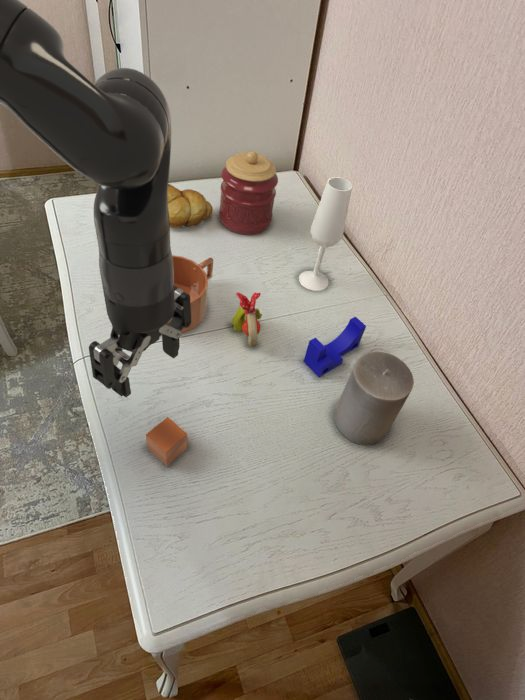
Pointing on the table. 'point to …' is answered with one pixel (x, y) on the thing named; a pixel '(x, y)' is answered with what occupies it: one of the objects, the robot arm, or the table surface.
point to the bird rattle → (248, 318)
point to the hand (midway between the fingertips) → (147, 372)
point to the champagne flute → (328, 227)
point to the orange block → (166, 441)
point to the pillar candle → (373, 397)
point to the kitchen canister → (247, 193)
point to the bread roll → (187, 207)
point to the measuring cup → (193, 285)
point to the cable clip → (333, 348)
